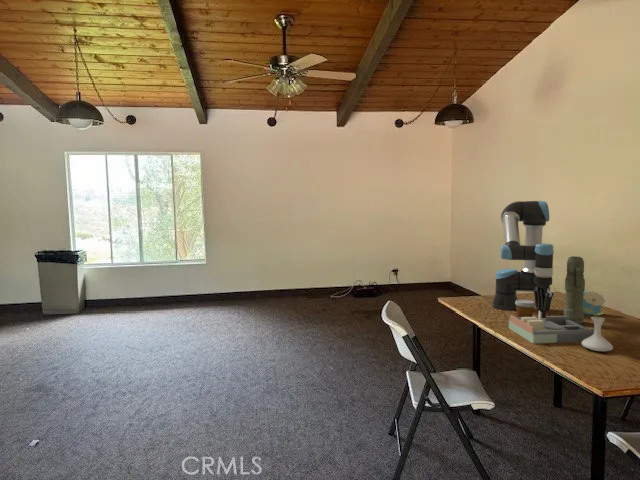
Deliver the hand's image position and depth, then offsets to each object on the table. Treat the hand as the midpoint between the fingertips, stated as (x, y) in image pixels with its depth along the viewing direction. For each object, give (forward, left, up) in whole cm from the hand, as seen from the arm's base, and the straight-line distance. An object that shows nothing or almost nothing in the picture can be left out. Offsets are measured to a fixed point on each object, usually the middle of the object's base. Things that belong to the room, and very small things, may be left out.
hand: (541, 323), depth 191 cm
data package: (-32, +45, -6) cm, 56 cm away
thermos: (-17, +27, -6) cm, 33 cm away
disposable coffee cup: (-18, +1, -6) cm, 19 cm away
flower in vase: (+19, +12, -6) cm, 23 cm away
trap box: (0, +5, -6) cm, 8 cm away
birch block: (0, -5, -2) cm, 5 cm away
